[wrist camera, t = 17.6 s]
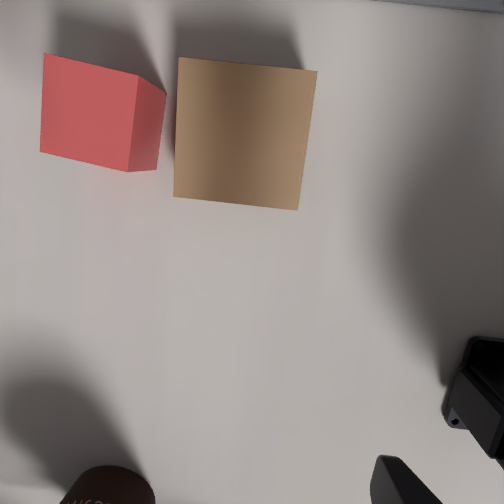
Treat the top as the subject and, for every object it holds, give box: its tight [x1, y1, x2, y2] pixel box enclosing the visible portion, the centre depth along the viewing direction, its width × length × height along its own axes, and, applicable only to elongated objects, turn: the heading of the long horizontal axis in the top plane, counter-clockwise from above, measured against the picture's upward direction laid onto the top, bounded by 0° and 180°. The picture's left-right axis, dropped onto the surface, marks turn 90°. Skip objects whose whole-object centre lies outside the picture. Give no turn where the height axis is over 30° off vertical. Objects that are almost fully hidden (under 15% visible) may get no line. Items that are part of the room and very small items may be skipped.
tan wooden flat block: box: [173, 57, 318, 211], centre depth 16 cm, size 6×6×3 cm
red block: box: [40, 53, 167, 172], centre depth 16 cm, size 4×4×4 cm
